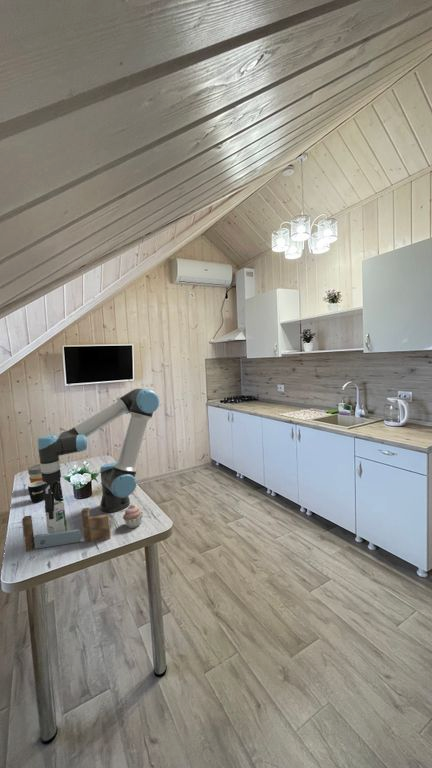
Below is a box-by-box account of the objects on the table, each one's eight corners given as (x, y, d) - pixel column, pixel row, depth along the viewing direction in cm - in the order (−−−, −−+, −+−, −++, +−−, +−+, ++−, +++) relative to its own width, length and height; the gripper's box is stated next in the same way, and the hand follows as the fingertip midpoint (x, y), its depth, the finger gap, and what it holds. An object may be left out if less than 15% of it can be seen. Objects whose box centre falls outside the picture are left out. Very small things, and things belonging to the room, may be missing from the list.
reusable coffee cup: (57, 487, 202) (54, 464, 201) (37, 495, 192) (34, 471, 191) (46, 484, 209) (43, 462, 208) (26, 492, 199) (23, 468, 198)
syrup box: (55, 539, 138) (51, 507, 137) (48, 536, 141) (44, 505, 140) (67, 533, 143) (64, 502, 142) (60, 530, 146) (56, 499, 145)
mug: (29, 505, 178) (27, 488, 177) (30, 499, 186) (28, 483, 185) (53, 499, 184) (51, 482, 183) (53, 494, 192) (51, 478, 191)
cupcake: (125, 532, 142) (123, 511, 141) (122, 523, 150) (120, 502, 150) (145, 526, 146) (144, 505, 145) (142, 518, 154) (140, 498, 153)
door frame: (111, 535, 140) (107, 505, 139) (110, 538, 137) (106, 507, 136) (28, 547, 135) (24, 516, 134) (26, 551, 132) (22, 519, 131)
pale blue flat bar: (80, 540, 137) (79, 529, 137) (79, 543, 135) (78, 531, 135) (36, 546, 135) (34, 535, 134) (34, 549, 133) (32, 538, 132)
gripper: (50, 464, 149) (55, 511, 151) (31, 480, 129) (38, 534, 131) (67, 462, 150) (72, 509, 152) (51, 478, 130) (57, 531, 132)
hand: (56, 520), depth 141 cm, fingers closed on syrup box, 8 cm apart
